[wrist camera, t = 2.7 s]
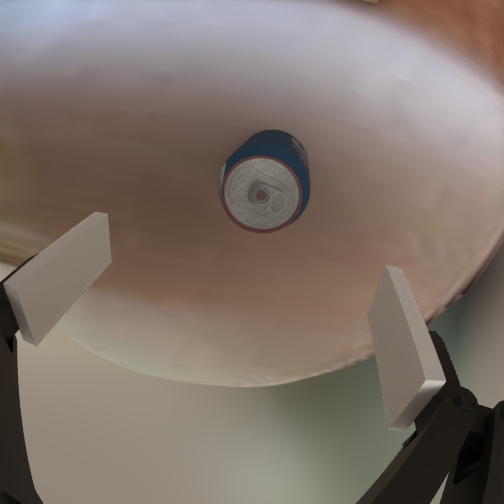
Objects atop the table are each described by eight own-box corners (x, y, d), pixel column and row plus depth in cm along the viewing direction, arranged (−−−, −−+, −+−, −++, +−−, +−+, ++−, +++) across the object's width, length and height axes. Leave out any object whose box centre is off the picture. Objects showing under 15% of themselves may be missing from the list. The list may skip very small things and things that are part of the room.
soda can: (231, 176, 34) (199, 217, 24) (256, 117, 31) (233, 131, 20) (290, 202, 35) (284, 255, 24) (318, 146, 31) (328, 174, 21)
